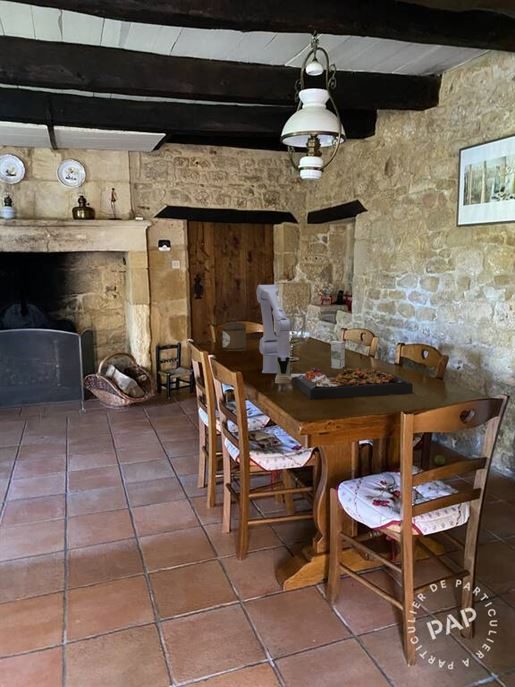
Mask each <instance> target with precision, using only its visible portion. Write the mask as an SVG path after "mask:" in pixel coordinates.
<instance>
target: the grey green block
mask: <svg viewBox="0 0 515 687" xmlns="http://www.w3.org/2000/svg"><path fill="white" fill-rule="evenodd" d="M290 368H291V361H290V360H289V362H288V365H287V370H286V374H281V370H280V365H279V363H278V361H277V373H276V375H277V376H288V377H290V375H291V369H290Z"/></svg>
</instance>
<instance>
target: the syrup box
mask: <svg viewBox="0 0 515 687" xmlns="http://www.w3.org/2000/svg"><path fill="white" fill-rule="evenodd" d="M345 346H346V342H345V340H335V339H334V340H332V341H331V342H330V368H331V369H337V370H338V369H339V370H341V369H344V368H345V353H346V349H345V348H346V347H345ZM343 367H344V368H343Z"/></svg>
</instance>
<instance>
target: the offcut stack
mask: <svg viewBox="0 0 515 687" xmlns="http://www.w3.org/2000/svg"><path fill="white" fill-rule="evenodd" d="M274 383H275V384H291V380H290V378H288V376H277V380H275V379H274Z"/></svg>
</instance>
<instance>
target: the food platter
mask: <svg viewBox="0 0 515 687" xmlns="http://www.w3.org/2000/svg"><path fill="white" fill-rule="evenodd" d="M308 365H309V366H310V370H308V371H304V374H306V375H300V376H297V377H294V378H293V381H294V383H293V384H294V387H296V388H297V389H298V390H300V392H302V393H303V395H305V397H307V398H308V399H309V400H311V401H312V399H314V400H324V399H323V398H330V399H341V398H340V397H347V398H354V397H353V396H363V397H376V396H375V395H380V396H390V395H389V394H396V395H406V394H405V393H412V394H413V385H414V384H413V383H412V382H410V381H407V380H406V379H403V378H401V377H398V376H397V375H394V374H392V373H390V372H389V371H382V370H381V371H380V370H376V369H375V368H372V369H370V368H369V367H368V368H362V369H361V367H357V368H355V369H354V368H348V367H347V368H345V369H344V370H343V371H342V372H341V373H339V374H336V373H335V374H326V373H323V372H324V370H321V368H315V367H312V366H311V365H310V364H308Z"/></svg>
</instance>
